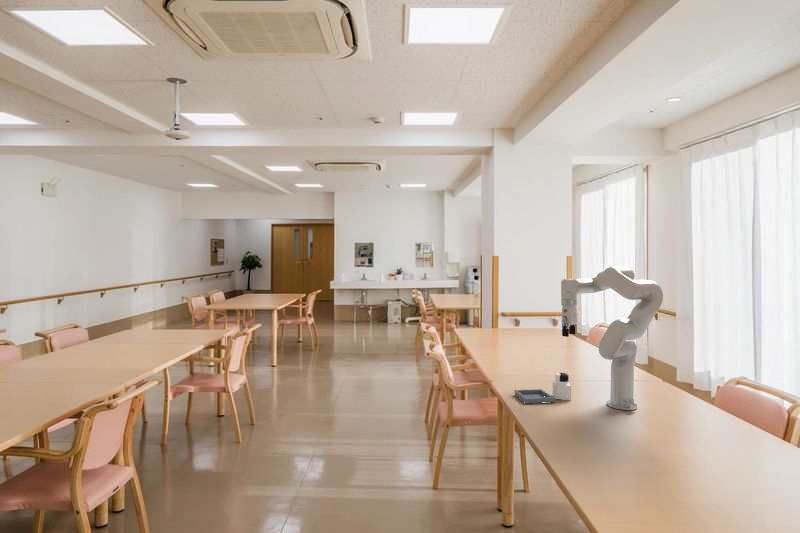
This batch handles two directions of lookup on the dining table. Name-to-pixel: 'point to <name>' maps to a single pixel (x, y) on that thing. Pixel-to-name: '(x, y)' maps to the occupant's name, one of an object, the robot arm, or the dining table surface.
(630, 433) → the dining table surface
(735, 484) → the dining table surface
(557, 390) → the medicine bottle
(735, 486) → the dining table surface
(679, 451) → the dining table surface
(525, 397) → the tray
